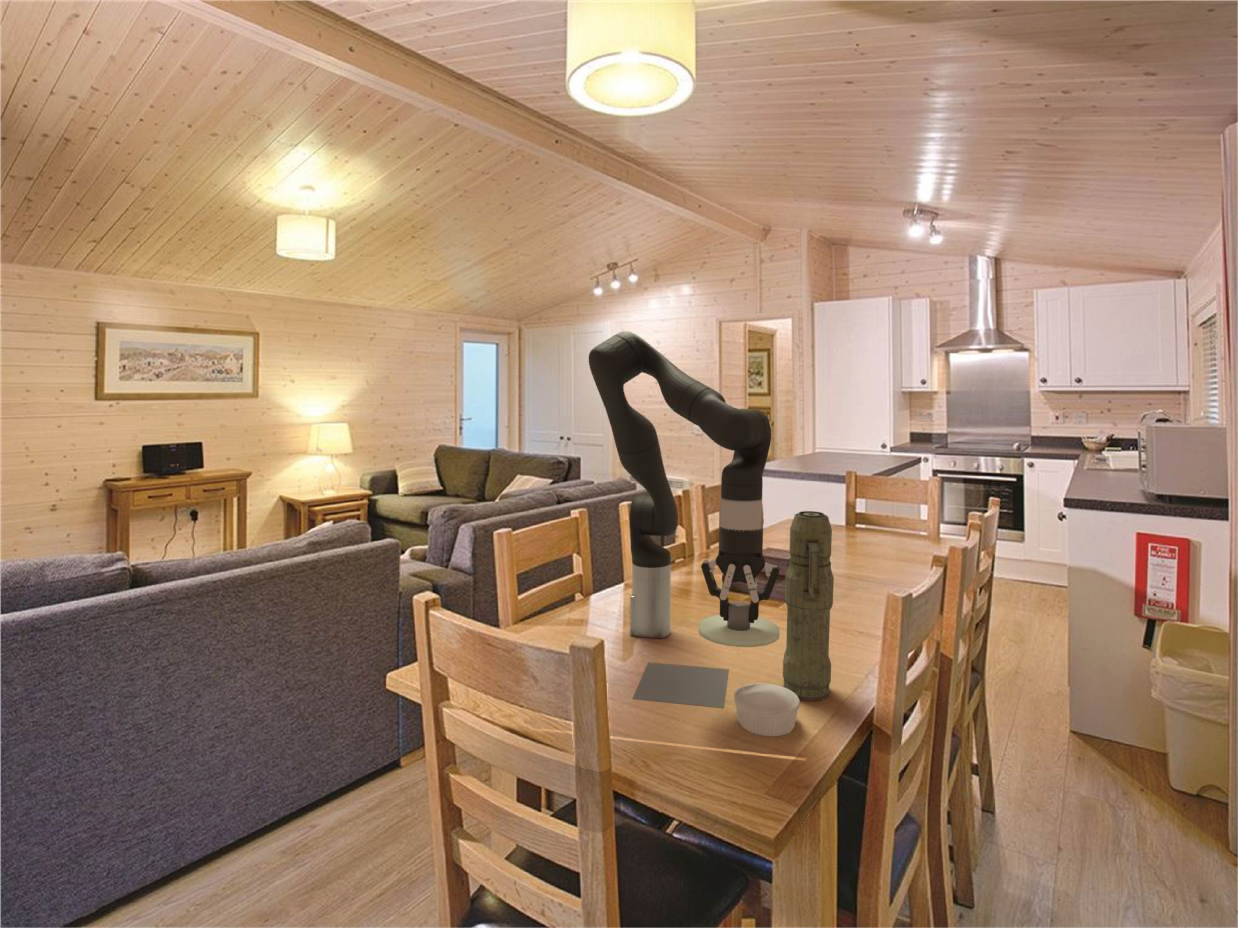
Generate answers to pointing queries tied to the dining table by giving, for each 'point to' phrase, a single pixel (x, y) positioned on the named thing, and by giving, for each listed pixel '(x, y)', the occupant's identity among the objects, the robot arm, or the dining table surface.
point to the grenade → (808, 607)
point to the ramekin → (766, 709)
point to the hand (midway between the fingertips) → (739, 620)
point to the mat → (683, 685)
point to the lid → (739, 628)
